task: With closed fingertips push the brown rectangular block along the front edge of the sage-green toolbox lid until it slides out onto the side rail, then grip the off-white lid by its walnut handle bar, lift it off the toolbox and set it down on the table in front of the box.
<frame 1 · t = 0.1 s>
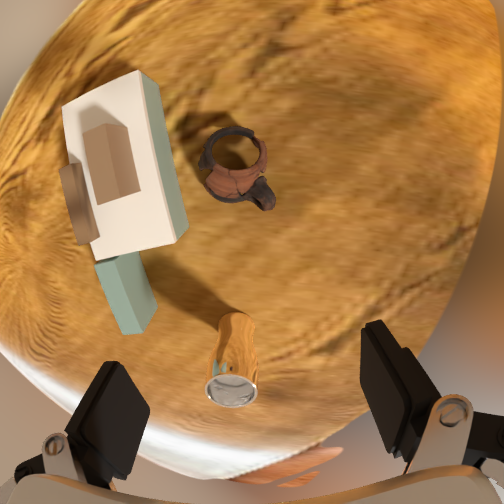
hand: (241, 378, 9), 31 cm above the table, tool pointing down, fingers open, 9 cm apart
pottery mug: (240, 172, 37), on the table
beer glass: (236, 326, 45), on the table
lid: (112, 167, 30), point 7 cm above the table, touching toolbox
brown rectangular block: (78, 203, 29), point 9 cm above the table, slide at 0.0 cm
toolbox: (134, 164, 36), on the table
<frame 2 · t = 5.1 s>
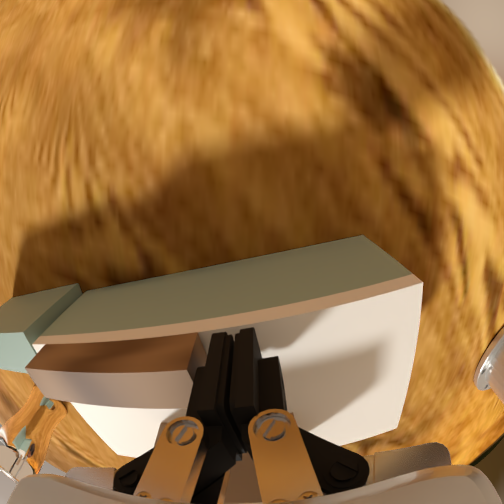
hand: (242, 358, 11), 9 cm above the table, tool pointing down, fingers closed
beer glass: (50, 399, 26), on the table
lid: (221, 403, 14), point 7 cm above the table, touching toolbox
brown rectangular block: (105, 373, 11), point 9 cm above the table, slide at 1.2 cm, touching gripper
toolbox: (229, 336, 21), on the table
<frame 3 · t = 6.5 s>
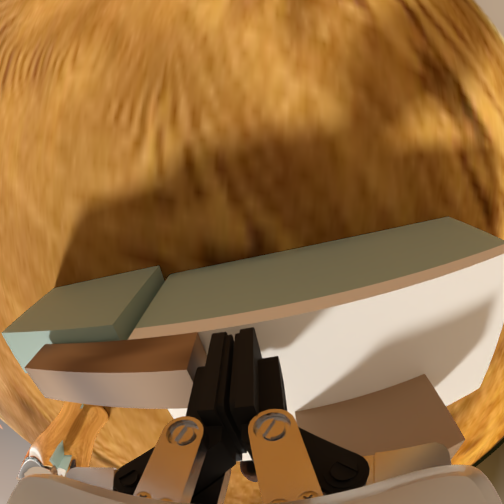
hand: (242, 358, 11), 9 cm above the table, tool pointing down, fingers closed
beer glass: (88, 405, 25), on the table
lid: (359, 377, 14), point 7 cm above the table, touching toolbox
brown rectangular block: (105, 373, 11), point 9 cm above the table, slide at 9.3 cm, touching gripper
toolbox: (332, 316, 20), on the table
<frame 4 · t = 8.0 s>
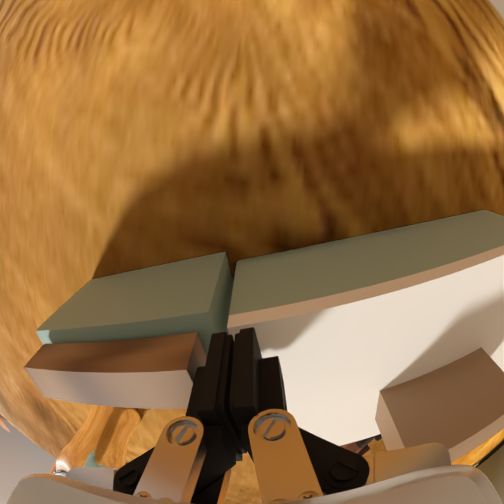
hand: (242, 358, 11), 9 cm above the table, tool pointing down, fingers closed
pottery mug: (327, 409, 25), on the table
beer glass: (117, 408, 25), on the table
lid: (431, 353, 13), point 7 cm above the table, touching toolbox
brown rectangular block: (104, 373, 11), point 9 cm above the table, slide at 14.3 cm, touching gripper
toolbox: (389, 301, 20), on the table
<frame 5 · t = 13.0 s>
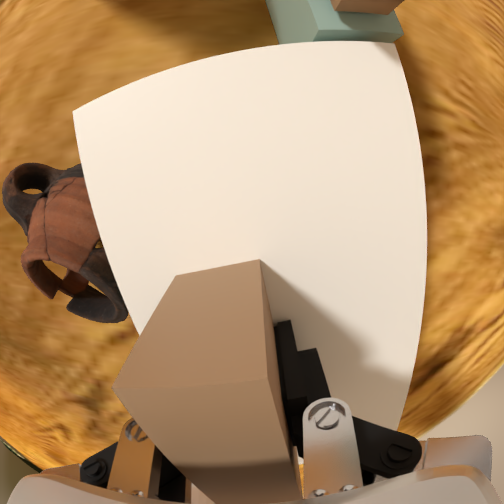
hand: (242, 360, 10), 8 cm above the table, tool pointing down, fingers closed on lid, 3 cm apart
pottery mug: (101, 215, 17), on the table, touching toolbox
lid: (288, 334, 11), point 7 cm above the table, touching gripper, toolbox
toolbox: (276, 271, 18), on the table
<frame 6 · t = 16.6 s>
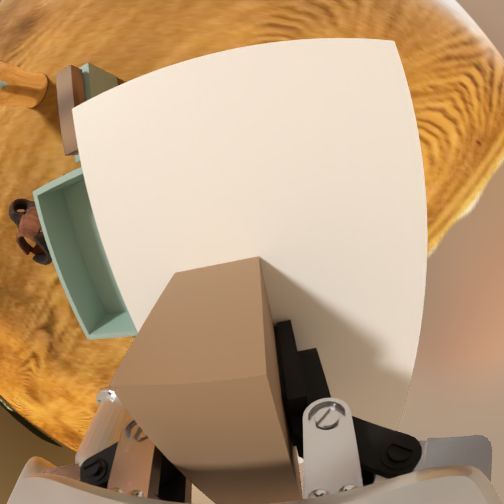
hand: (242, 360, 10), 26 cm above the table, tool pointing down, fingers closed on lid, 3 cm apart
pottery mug: (49, 219, 35), on the table
beer glass: (36, 90, 27), on the table
lid: (288, 332, 11), point 24 cm above the table, touching gripper
brown rectangular block: (72, 109, 21), point 9 cm above the table, slide at 14.3 cm
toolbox: (111, 244, 36), on the table
when the fingers open (4 cm above the table, at t = 20.7 s): lid drops 2 cm, point 1 cm above the table.
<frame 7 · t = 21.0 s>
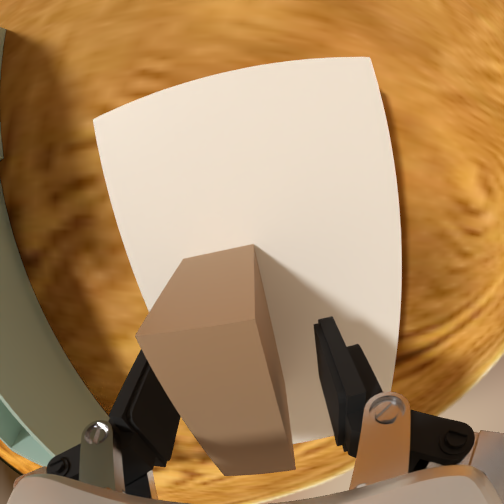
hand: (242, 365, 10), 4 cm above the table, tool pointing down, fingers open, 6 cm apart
lid: (280, 312, 13), point 1 cm above the table
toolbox: (9, 324, 15), on the table
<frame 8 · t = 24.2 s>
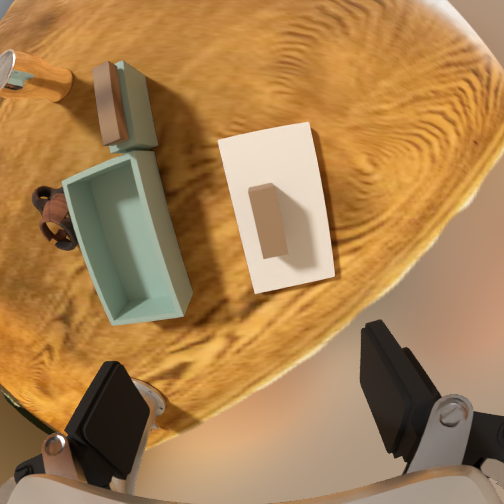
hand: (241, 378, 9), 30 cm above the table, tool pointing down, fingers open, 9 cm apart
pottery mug: (72, 207, 38), on the table
beer glass: (60, 85, 31), on the table
lid: (280, 210, 37), point 1 cm above the table
brown rectangular block: (109, 102, 24), point 9 cm above the table, slide at 14.3 cm
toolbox: (137, 234, 39), on the table
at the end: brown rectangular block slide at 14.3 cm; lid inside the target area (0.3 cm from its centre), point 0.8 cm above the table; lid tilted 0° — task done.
